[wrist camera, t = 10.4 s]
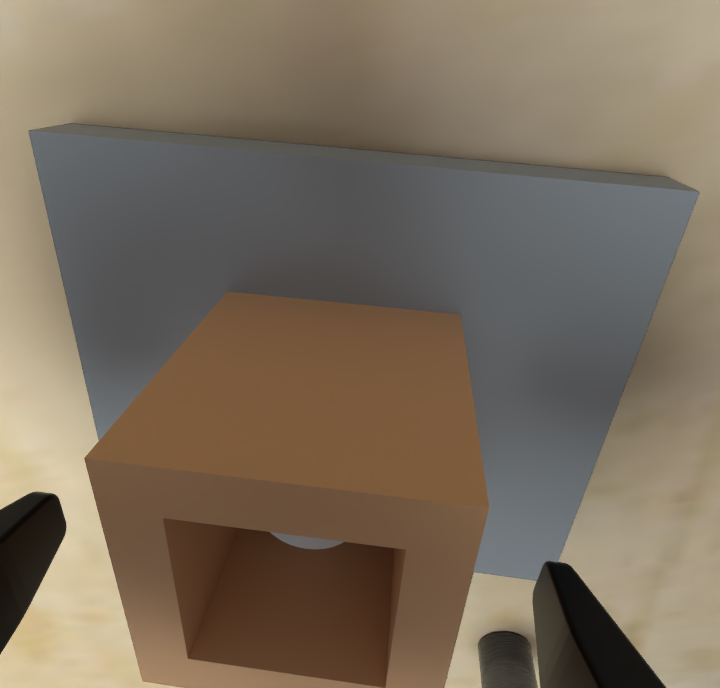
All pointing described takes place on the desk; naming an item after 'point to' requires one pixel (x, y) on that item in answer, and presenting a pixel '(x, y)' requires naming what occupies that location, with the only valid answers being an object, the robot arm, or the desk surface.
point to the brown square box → (297, 498)
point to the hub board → (378, 281)
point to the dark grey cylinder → (506, 661)
